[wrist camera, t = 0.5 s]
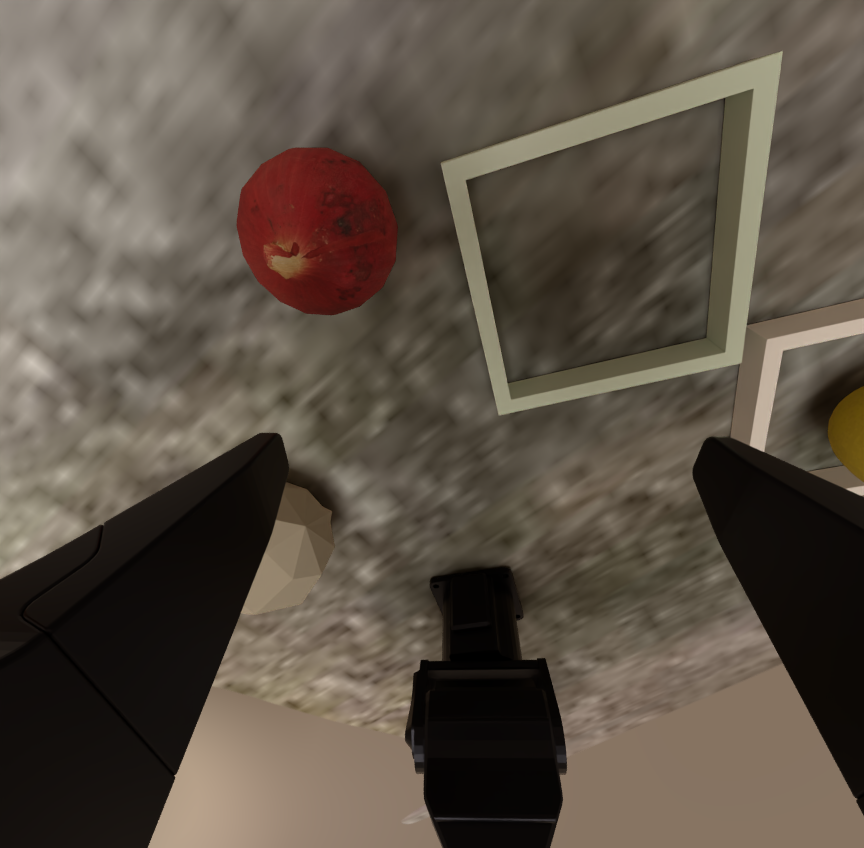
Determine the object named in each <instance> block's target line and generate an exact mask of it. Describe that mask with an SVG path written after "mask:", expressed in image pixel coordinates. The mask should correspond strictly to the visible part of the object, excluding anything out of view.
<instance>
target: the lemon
mask: <svg viewBox="0 0 864 848" xmlns="http://www.w3.org/2000/svg"><path fill="white" fill-rule="evenodd" d="M828 438H829V441H830V444H831V447H832V450H833V452H834V453H835V455H836V456H837V458H838V459H839V460H840V461H841V462H842V463H843V465H844V466H845V467H846V468H847V469H848V470H849V471H850V472H851V473H852V474H853V475H855V476H856V477H857V478H858V479H860V480H861V481H862V482H864V386H863V387H861V388H859V389H857V390H855V391H853V392H852V393H850V394H849V395H847V396H846V397H845V398H844V399H843V400H842V401H841V402H840V403H839V404H838V405H837V406H836V408H835V409H834V410H833V413H832V415H831V417H830V419H829V424H828Z"/></svg>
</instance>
